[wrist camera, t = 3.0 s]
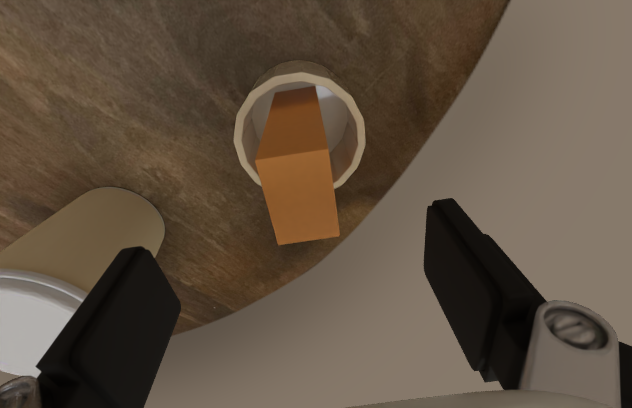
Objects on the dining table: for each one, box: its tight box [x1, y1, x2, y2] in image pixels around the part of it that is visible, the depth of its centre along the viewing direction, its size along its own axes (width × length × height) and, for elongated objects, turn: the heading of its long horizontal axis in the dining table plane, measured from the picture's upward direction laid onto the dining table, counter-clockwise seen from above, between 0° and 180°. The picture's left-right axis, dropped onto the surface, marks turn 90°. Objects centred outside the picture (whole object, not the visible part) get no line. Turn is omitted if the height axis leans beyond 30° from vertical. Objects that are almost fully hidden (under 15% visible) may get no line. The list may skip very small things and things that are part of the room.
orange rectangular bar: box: [255, 86, 340, 245], centre depth 18 cm, size 3×4×12 cm, turn 8°
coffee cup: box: [0, 187, 165, 378], centre depth 23 cm, size 9×9×12 cm
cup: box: [234, 60, 366, 189], centre depth 22 cm, size 8×8×6 cm
